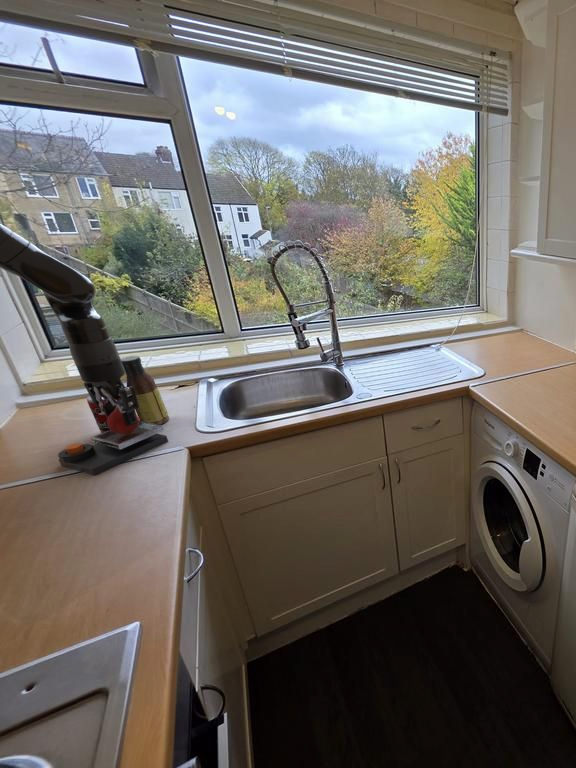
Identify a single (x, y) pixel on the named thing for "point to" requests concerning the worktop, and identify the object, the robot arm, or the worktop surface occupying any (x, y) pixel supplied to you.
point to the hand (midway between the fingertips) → (123, 422)
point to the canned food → (100, 415)
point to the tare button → (74, 448)
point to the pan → (127, 436)
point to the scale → (107, 455)
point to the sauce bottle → (145, 392)
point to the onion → (120, 423)
